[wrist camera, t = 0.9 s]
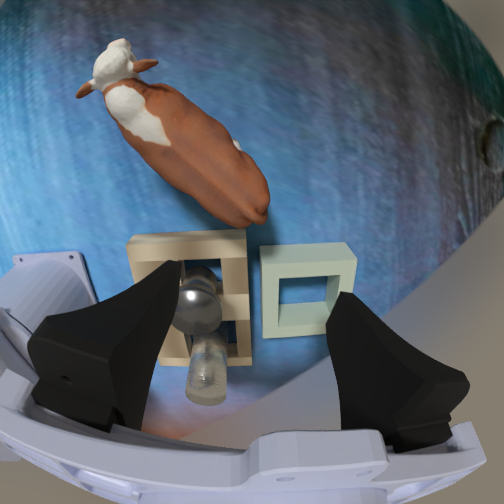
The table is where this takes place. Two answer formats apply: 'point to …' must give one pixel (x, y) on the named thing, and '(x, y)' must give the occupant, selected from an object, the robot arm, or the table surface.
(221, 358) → the silver metal cylinder
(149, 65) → the bull figurine
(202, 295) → the round dark knob
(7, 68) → the table surface
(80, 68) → the table surface
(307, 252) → the grey-green hollow square block
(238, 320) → the socket block
